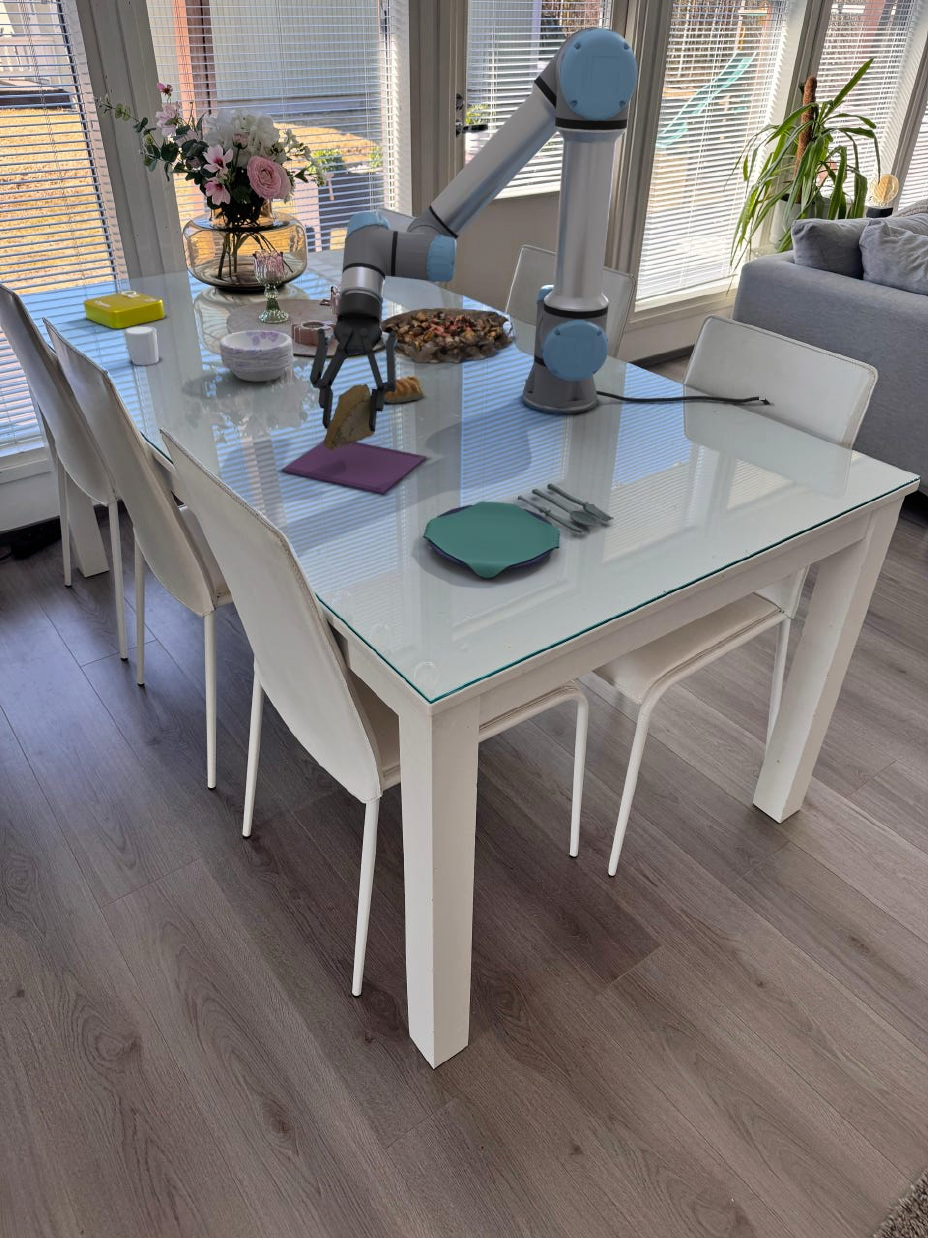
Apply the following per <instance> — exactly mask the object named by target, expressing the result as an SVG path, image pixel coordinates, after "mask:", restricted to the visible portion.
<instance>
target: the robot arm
mask: <svg viewBox="0 0 928 1238" xmlns="http://www.w3.org/2000/svg"><path fill="white" fill-rule="evenodd" d="M637 80H638V64H637V60H636V57H635V54H634V51H633V48H632V47H631V45H630V44H629V41H628V40H626V38H625V37H624V36H622V35H621V34H620V33H619V32H617V31H615V30H613V29H611V28H605V27H595V26H591V27H584V28H581V29H578V30H576V31H575V32H573V33H572V34H570V35H569V36H568V37H567V38H566V39H565V40H564V41H563V42H562V44H561V45H560V46H559V48H558V49H557V51H556V52H555V54H554V55H553V57H552V58H551V59H550V60H549V62H548V64H547V65H546V66H545V68H544V69H543V70H542V71H541V72H540V74H539V75H538V76H536V78H535V79H534V80H533V81H532V83H531V92H530V94H529V95H528V96H527V97H526V98H525V100H524V101H523V102H522V103H520V105H519V106H518V107H517V108H516V109H515V110H514V112H513V113H512V114H511V115H510V116H509V117H508V118H507V119H506V120H505V121H504V123H503V124H502V125H501V126H500V127H499V128H498V129H497V130H496V132H495V133H493V135H492V136H491V137H490V138H489V140H488V141H487V142H486V143H484V145H483V146H482V147H481V148H480V149H479V150H478V151H477V152H476V154H475V155H474V156H473V157H472V158H471V159H470V160H469V161H468V163H466V164H465V166H464V167H463V168H462V169H461V170H460V171H459V173H457V174H456V176H455V177H454V178H452V180H451V181H450V182H449V183H448V185H446V187H445V188H444V189H443V190H442V191H441V192H440V193H439V194H438V196H437V197H435V199H434V200H433V201H432V202H431V203H430V205H429V206H428V207H427V208H425V210H424V211H423V212H422V213H421V214H420V215H419V216H418V217H415V218H414V219H413V220H412V222H410V224H409V225H408V227H407V228H406V231H398V230H394V229H391V226H390V223H389V221H388V219H386V217H384V216H383V215H381V214H379V215H377V213H375V212H373V211H361V212H358V213H356V214H354V215H352V216H351V218H349V220H348V223H347V228H346V229H347V230H346V236H345V238H344V247H343V257H342V259H343V260H342V272H341V279H340V280H341V281H340V288H339V301H338V308H337V318H336V324H335V326H334V327H333V328H332V329H327V330H324V328H322V327H319V328H318V329H317V331H316V332H317V339H318V340H317V341H318V342H317V346H316V350H315V354H314V358H313V363H312V366H311V371H310V375H309V381H310V383H311V386H312V388H314V389H318V390H319V392H318V400H317V401H318V406H319V408H320V409H323V411H322V421H321V423H322V425H323V428H324V429H325V430H327V428H328V425H329V422H330V421H331V420H332V410H333V402H334V401H333V399H334V391H333V390H332V385H333V383H334V382H335V381H336V378H337V376H338V374H339V372H340V370H341V368H342V366H343V364H344V362H345V361H346V360H347V359H348V357H349V355H356V354H357V355H360V356H366V357H367V360H368V362H369V363H368V364H369V367H370V369H371V372H372V376H373V379H374V382H375V386H376V388H371V392H370V393H371V404H370V414H369V428H370V431H374V433H375V432H376V429H377V428H376V427H377V418H378V417H377V415H378V412H383V411H384V407H385V401H384V397H385V394H386V393H387V392H390V391H391V392H394V391H396V379H397V378H396V377H397V376H396V375H397V373H396V353H395V352H396V351H395V349H396V346H397V343H398V341H397V336H396V333H395V332H390V334H389V333H385V332H382V329H381V322H382V318H383V309H384V307H383V303H384V297H385V285H386V277H391V278H401V279H410V280H418V281H419V280H420V281H427V282H431V283H436V282H441V283H443V282H444V283H450V282H451V281H452V280H453V279H454V276H455V269H456V268H455V267H456V256H457V239H458V238H459V237H460V235H462V233H463V232H464V231H465V230H466V229H467V228H468V227H469V226H470V225H471V224H472V223H473V222H474V221H475V220H476V219H477V217H478V216H480V215H481V213H482V212H483V211H484V210H486V208H487V207H488V206H489V205H490V204H492V202H493V201H494V200H495V199H496V198H497V196H498V195H500V193H501V192H502V191H503V190H504V189H505V188H506V187H507V186H508V185H509V184H510V183H511V182H512V181H513V180H514V178H516V176H518V174H519V173H520V172H522V170H523V169H524V168H525V167H526V166H527V165H529V163H530V162H531V161H532V160H533V158H534V157H536V155H537V154H538V153H539V152H540V151H542V149H543V148H544V147H545V146H546V145H547V144H548V143H549V142H550V141H551V140H552V138H554V137H555V136H556V134H557V133H559V135H560V136H561V137H562V140H563V142H562V154H561V155H562V156H561V170H560V183H559V197H558V198H559V199H558V212H557V213H558V214H557V229H556V244H555V259H554V270H553V273H554V274H553V284H548V285H544V286H541V288H540V289H538V292H537V299H536V319H535V320H536V321H535V335H534V336H535V337H534V338H535V339H534V350H533V363H532V366H531V368H530V371H529V373H528V376H527V378H526V379H525V384H524V386H523V390H522V402H523V403H524V404H525V405H526V406H527V407H529V408H530V409H533V410H536V411H539V412H542V413H546V414H554V415H574V414H580V413H584V412H585V413H586V412H588V411H590V410H592V409H594V407H595V406H596V405H597V399H598V396H601V397H607V398H611V399H615V400H619V401H622V402H630V403H665V402H667V403H668V402H680V401H681V402H682V401H683V402H684V401H697V400H698V401H715V402H724V403H725V402H726V403H736V404H743V403H751V402H756V401H760V402H762V403H764V404H765V405H771V403H770V402H769V400H768V399H766V398H765V400H759V397H760V396H752V397H747V398H732V397H721V396H711V395H686V396H674V397H650V398H649V397H648V398H647V397H645V398H643V397H642V398H639V397H628V396H627V397H626V396H621V395H618V394H614V393H610V392H607V391H601V390H598V389H596V388H597V387H596V383H595V378H594V375H595V374H596V373H597V372H599V371H600V370H601V368H602V367H603V366H604V364H605V362H606V361H607V357H608V354H609V339H608V336H607V324H608V315H609V314H608V313H609V305H610V304H609V302H610V301H609V299H608V298H607V297H606V295H604V294H603V291H602V289H603V280H604V279H603V278H604V268H605V257H606V249H607V237H608V228H609V217H610V209H611V208H610V207H611V196H612V187H613V186H612V185H613V178H614V177H613V176H614V166H615V158H616V157H615V156H616V147H617V145H616V144H617V141H618V139H619V138H620V137H621V136H622V135H623V134H624V133H625V132H626V131H627V129H628V121H629V120H628V119H629V110H630V103H631V99H632V98H633V94H634V92H635V91H636V90H635V88H636V86H637V82H638V81H637ZM333 338H335V339H336V341H337V346H336V348H335V352H334V354H333V356H332V357H331V360H330V361H329V363H328V365H327V367H326V369H325V370H324V368H325V364H326V360H327V355H328V351H329V345H330V344H331V343H332V340H333ZM381 341H382V342H383V345H384V347H385V351H386V352H385V354H386V355H385V356H386V379H387V380H386V381H383V378H382V375H381V372H380V369H379V365H378V362H377V359H376V356H375V352H374V349H375V347H376V346H377V345H378V344H379V343H380V342H381ZM323 372H324V373H323Z"/></svg>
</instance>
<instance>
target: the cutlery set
mask: <svg viewBox="0 0 928 1238" xmlns="http://www.w3.org/2000/svg"><path fill="white" fill-rule="evenodd" d="M546 487H547V490H549V491H552V492H554V493H555V494H557V495H559V496H560V497H562V498H564V499H565V500H567V501H569V502H571V503H572V504H573V503H574V504H576V505H578V506H581V507H582V509H583V510H584V511H581V510H575V509H573V510H570V509H569V508H568V507H566V506H564V505H563V504H561V503H560V502H559V501H557V500H556V499H554V498H553V497H551V496H549V495H548V494H546V493H544V492H543V491H541V490H540V489H538V488H534V489H531V494H533V495H535V496H536V497H539V498H541V499H543V500H545V501H546V502H547V501H548V502H549V503H552V505H554V506H556V507H558V508H560V509H561V510H563V511H564V512H566V513H568V514H569V518H570V519H571V520H572V521H574V522H575V523H576V524H579V525H582V526H589V527H594V526H596V525H599V524H600V523H599V521H598V519H600V520H602V521H604V522H609V521H612V520H615V518H614V517H612V516H610V515H609V514H607V513H605V512H604V511H603V510H602V509H600V508H598V507H597V506H596V504H595V503H589V502H588V500H587V501H585V502H584V501H583V500H580V499H578V498H575V497H574V496H572V495H571V494H569V493H567V492H565V491H564V490H563V489H561V488H560V487H558V486H556V485H554V483H551V482H550V483H548V484H547V486H546ZM520 500H521V501H522V502H524V503H527V504H529V505H530V506H532V507H533V508H536V509H537V510H538V511H539V513H540V514H539V513H536V512H534V511H532V510H529V509H527V508H523V507H521V506H520V505H518V504H516V503H512V502H502V501H484V500H483V501H479V502H476V503H474V504H468V505H464V506H459V507H455V508H451V509H449V510H447V511H445V512H443V513H441V514H438V515H437V516H436V517H434V518H431V519H429V521H427V523H426V526H425V529H424V532H423V535H422V537H423V538H424V539H427V542H428V545H429V547H430V548H431V549H432V550H433V551H434V552H435V554H437V555H438V556H440V557H441V558H444V559H446V560H447V561H449V562H451V563H453V564H456V565H460V566H463V567H467V568H471V570H473V571H474V572H475V574H476V575H478V576H480V577H481V578H484V579H490V578H493V577H496V576H497V575H498V574H500V572H502V571H504V570H514V569H521V568H523V567H528V566H531V565H534V564H536V563H539V562H541V561H543V560H544V559H546V558H547V557H549V556H551V554H552V553H553V551H554V550H555V549H559V548H560V541H561V540H560V539H561V538H560V537H561V531H560V529H559V528H558V527H557V526H555V525H554V524H553V523H552V522H550V520H547V519H546V518H547V517H549V518H551V519H552V520H553V521H555V522H556V523H558V524H560V525H562V526H564V527H565V528H567V529H569V530H571V531H573V532H575V533H583V529H581V528H579V527H577V526H576V525H573V523H571V522H568V521H566V520H565V519H563V518H561V517H559V516H557V515H556V514H554V513H552V509H551V508H550V509H548V508H547V507H546V506H540V505H538V504H536V503H534V502H532V501H529V500H528V499H526V498H525V497H523V496H522V495H518V496H517V501H520ZM541 514H544V516H543V515H541ZM597 518H598V519H597Z"/></svg>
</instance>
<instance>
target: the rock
mask: <svg viewBox="0 0 928 1238" xmlns="http://www.w3.org/2000/svg"><path fill="white" fill-rule="evenodd" d="M371 393H372V392H371V390H370V388H369V386H368V384H367V383H364V384H356V385H353V386H351V387H350V388H349V389H347V390H346V391H344V392H343V393H341V394H339V395H338V398H337V404H336V408H335V410H334V412H333V414H332V415H333V416H332V417H331V420H330V422H329V425H328V428H327V429H326V434H325V436H324V439H323V441H324V444H323V446H324V447H326V448H328V449H330V450H333V449H337V448H339V447H343V446H346V445H348V444H351V443H353V442H360V441H363V440H365V439H366V438H369V437H370V438H371V437H372V436H374V435H375V432H374V431H370V428H369V414H370V404H371Z"/></svg>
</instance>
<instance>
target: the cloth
mask: <svg viewBox="0 0 928 1238" xmlns="http://www.w3.org/2000/svg"><path fill="white" fill-rule="evenodd" d="M323 444H324V440H323V441H321V442H320V443H318V444H316V446H314V447H313V448H311V449H309V450H308V451H307V452H305V453H303V454H302V455H301V456H299V457H298V458H296V459H295V460H293V461H292V462H290V463H289V464H287V465H286V466H285V467H283V468H282V469H281V472H282V473H287V474H291V475H294V476H299V477H303V478H308V479H314V480H317V481H321V482H326V483H331V484H334V485H339V486H344V487H347V488H352V489H357V490H361V491H366V492H368V493H369V492H370V493H374V494H379V495H385V494H387V493H388V492H389V491H390V490H391V489H392V488H393V487H395V486H396V485H397V484H398V483H399V482H401V481H402V480H403V479H404V478H406V476H408V475H409V474H410V473H411V472H412V471H413V470H415V469H416V468H417V467H418V466H419V465H421V464H422V463H423V462H424V461H426V460H427V456H426V455H421V454H417V453H411V452H407V451H401V450H396V449H392V448H388V447H383V446H377V445H374V444H368V443H364V442H360V441H358V442H353V443H351V444H348V445H346V446H343V447H339V448H337V449H333V450H330V449H328V448H326V447H324V446H323Z"/></svg>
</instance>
